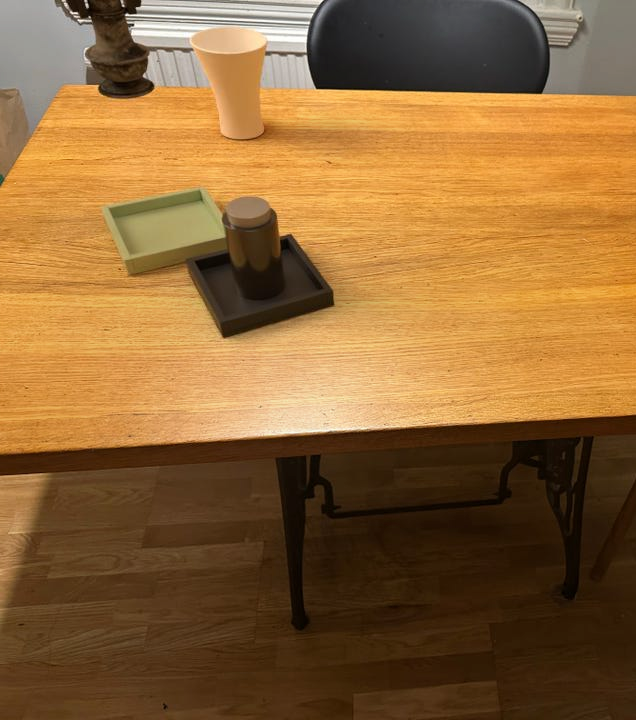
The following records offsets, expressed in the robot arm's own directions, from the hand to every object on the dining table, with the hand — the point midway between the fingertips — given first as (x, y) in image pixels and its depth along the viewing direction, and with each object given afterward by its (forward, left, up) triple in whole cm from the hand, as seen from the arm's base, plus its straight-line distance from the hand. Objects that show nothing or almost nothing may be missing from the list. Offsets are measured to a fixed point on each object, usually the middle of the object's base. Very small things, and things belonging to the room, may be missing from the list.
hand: (107, 13), depth 66 cm
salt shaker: (0, 0, -7) cm, 7 cm away
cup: (+18, +26, -27) cm, 41 cm away
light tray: (+1, +2, -26) cm, 27 cm away
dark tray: (+7, -13, -26) cm, 30 cm away
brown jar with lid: (+7, -13, -26) cm, 30 cm away
